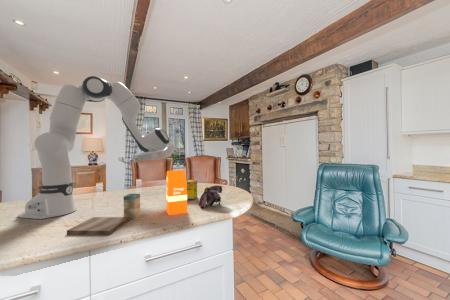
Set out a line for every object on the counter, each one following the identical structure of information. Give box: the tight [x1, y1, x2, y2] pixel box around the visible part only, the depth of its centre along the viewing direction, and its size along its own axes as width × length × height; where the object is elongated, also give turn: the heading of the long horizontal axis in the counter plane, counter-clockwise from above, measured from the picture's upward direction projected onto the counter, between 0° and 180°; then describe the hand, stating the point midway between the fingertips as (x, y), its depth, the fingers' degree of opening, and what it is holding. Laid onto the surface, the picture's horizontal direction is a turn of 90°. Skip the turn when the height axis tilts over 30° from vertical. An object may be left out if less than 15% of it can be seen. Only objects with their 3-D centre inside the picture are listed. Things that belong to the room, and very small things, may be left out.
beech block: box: [123, 193, 141, 220], centre depth 93 cm, size 5×5×10 cm
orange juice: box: [165, 169, 188, 216], centre depth 100 cm, size 8×9×20 cm
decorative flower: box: [198, 185, 223, 210], centre depth 109 cm, size 15×12×15 cm
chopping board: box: [66, 216, 130, 236], centre depth 81 cm, size 16×14×2 cm
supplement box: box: [186, 179, 198, 201], centre depth 124 cm, size 6×6×11 cm
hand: (142, 158), depth 104 cm, fingers open, 8 cm apart
